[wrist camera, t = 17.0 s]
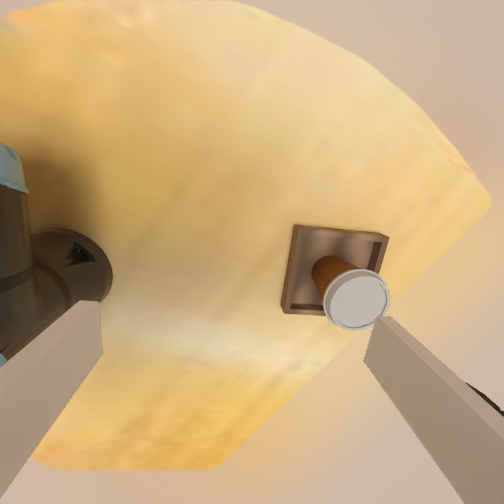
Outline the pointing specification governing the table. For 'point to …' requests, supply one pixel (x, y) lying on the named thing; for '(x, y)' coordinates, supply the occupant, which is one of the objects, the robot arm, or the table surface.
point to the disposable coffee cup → (350, 293)
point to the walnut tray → (320, 245)
